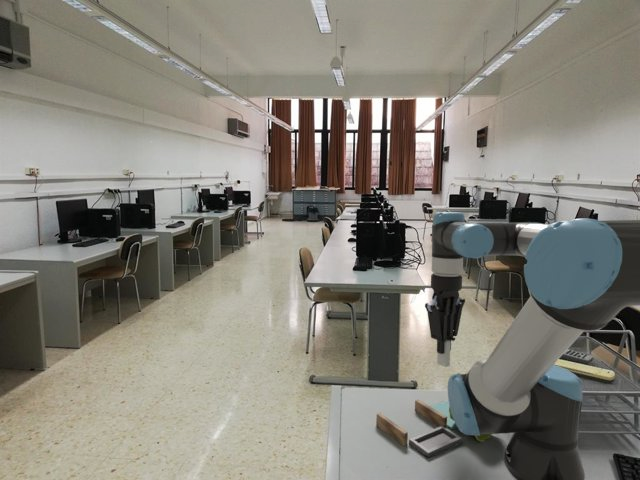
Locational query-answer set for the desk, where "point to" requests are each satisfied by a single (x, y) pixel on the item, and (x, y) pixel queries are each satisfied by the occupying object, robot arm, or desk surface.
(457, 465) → the desk surface
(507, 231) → the robot arm
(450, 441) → the tray
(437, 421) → the channel
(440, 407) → the pad
